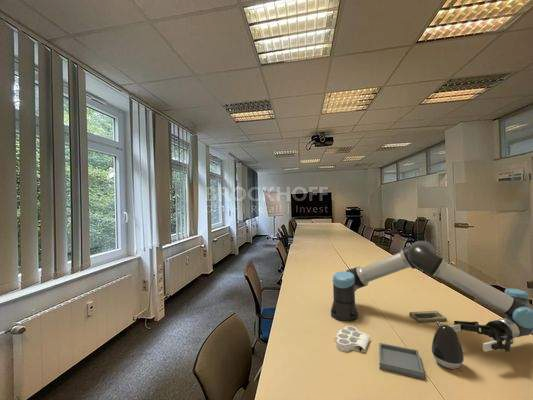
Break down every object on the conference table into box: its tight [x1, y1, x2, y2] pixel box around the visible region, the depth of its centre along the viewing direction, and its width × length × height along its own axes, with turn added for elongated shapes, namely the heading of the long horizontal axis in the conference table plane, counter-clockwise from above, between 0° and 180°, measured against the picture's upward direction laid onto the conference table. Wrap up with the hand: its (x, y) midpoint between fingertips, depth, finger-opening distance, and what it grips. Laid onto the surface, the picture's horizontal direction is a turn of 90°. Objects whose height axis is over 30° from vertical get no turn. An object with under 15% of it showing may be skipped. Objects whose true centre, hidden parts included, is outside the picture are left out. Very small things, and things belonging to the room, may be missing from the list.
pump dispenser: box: [431, 321, 465, 370], centre depth 97 cm, size 10×10×15 cm
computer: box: [408, 310, 448, 324], centre depth 134 cm, size 16×8×3 cm, turn 93°
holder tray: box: [378, 342, 425, 380], centre depth 98 cm, size 15×15×2 cm
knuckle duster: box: [333, 325, 371, 353], centre depth 113 cm, size 3×18×15 cm
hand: (465, 338), depth 100 cm, fingers open, 13 cm apart
